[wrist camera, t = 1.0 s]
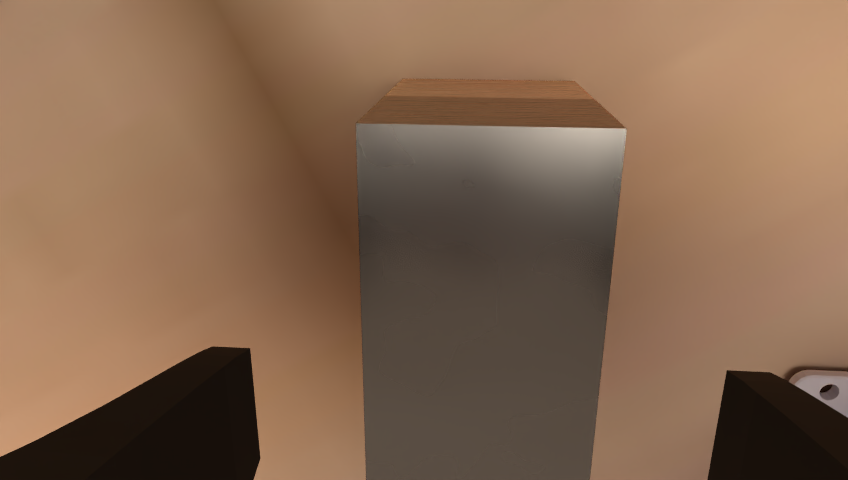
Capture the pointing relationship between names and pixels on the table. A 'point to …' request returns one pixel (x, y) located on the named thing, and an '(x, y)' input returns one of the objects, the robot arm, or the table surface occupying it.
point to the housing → (485, 277)
